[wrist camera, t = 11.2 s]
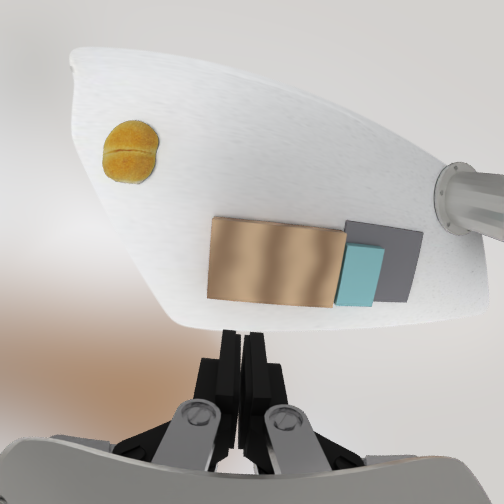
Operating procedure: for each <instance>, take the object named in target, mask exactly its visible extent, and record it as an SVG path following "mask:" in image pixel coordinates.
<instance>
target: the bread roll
mask: <svg viewBox="0 0 504 504" xmlns="http://www.w3.org/2000/svg"><path fill="white" fill-rule="evenodd" d="M157 147H158V136H157V135H156V133H155V131H154V130H153V129H152V128H151V127H150V126H149V125H147V124H145V123H143V122H141V121H136V120H133V121H126V122H123V123H121V124H119V125H118V126H117V127H115V128H114V129H113V130H112V131H111V133H110V134H109V136H108V137H107V139H106V141H105V144H104V150H103V161H102V165H103V169H104V172H105V174H106V175H107V176H108V177H110V178H111V179H113V180H114V181H116V182H122V183H129V184H140V183H141V182H142V181H143V180H144V179H146V178H147V177H148V176H149V175H150V174H151V172H152V170H153V168H154V165H155V155H156V150H157Z"/></svg>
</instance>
